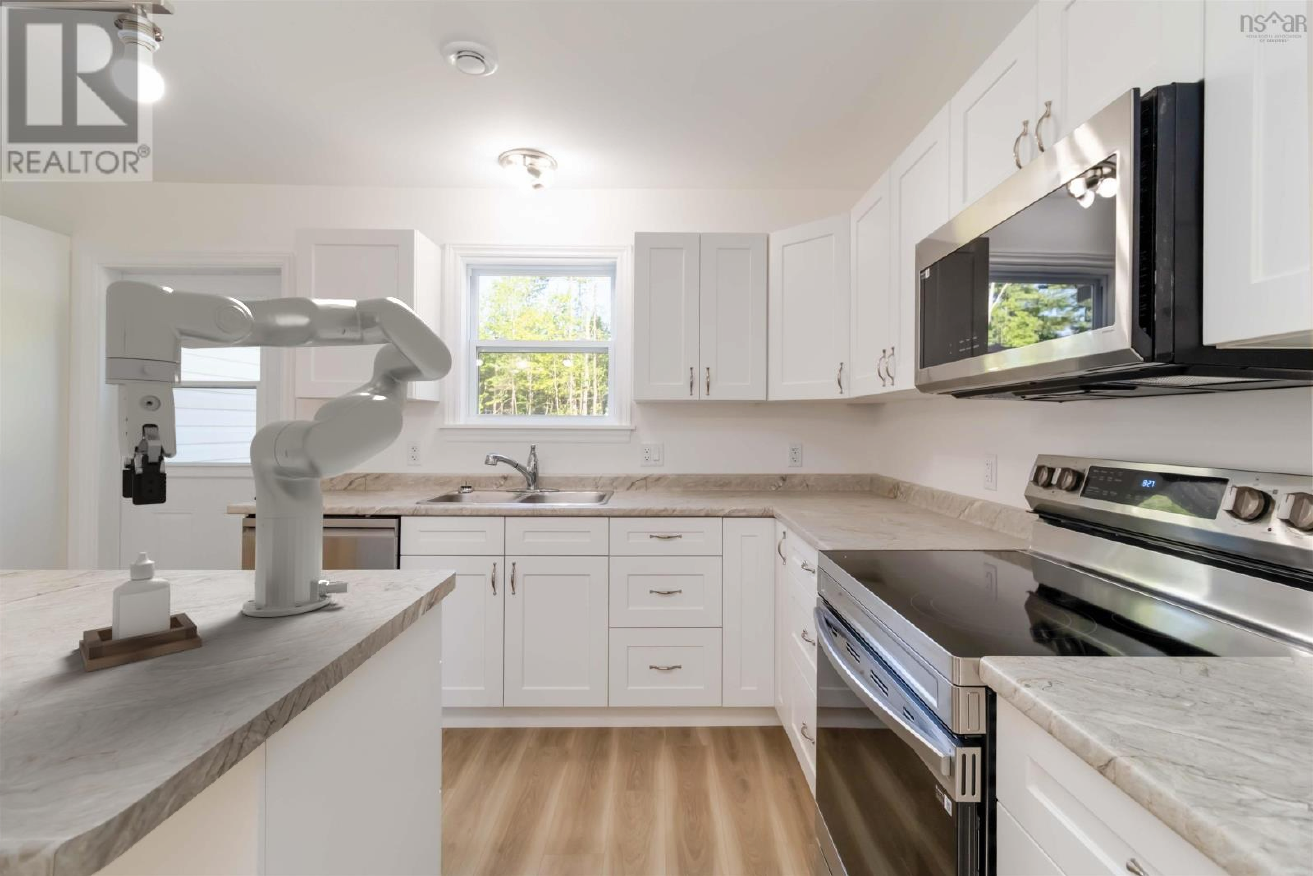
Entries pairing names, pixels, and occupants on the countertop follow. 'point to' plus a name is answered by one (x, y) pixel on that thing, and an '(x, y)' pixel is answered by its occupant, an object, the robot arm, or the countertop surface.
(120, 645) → the pocket plate
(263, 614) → the robot arm
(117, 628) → the eye dropper bottle
